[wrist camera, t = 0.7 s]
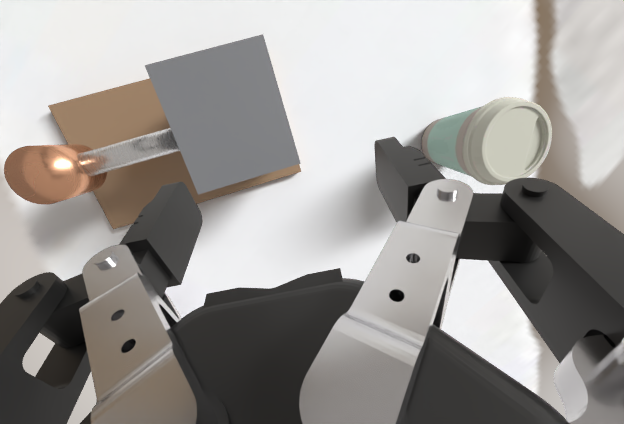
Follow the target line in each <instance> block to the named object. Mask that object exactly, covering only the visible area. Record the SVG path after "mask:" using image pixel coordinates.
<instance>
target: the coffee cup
mask: <svg viewBox="0 0 624 424" xmlns="http://www.w3.org/2000/svg"><path fill="white" fill-rule="evenodd" d="M551 139H552V128H551V123H550V119H549V117H548V115H547V113H546V112H545V111H544V110H543V108H541V107H540V106H539V105H537V104H535V103H533V102H529V101H526V100H524V99H521V98H513V97H504V98H499V99H496V100H493V101H491V102H489V103H488V104H486V105H485V106H482V107H479V108H475V109H472V110H469V111H465V112H462V113H459V114H455V115H452V116H448V117H445V118H442V119H439V120H436V121H434V122H432V123H431V124H430V125H429V126H428V127H427V128H426V130H425V132H424V134H423V136H422V141H421V147H422V151H423V154H424V155H425V157H426V158H427V159H428V160H429V161H431V162H434V163H436V164H439V165H442V166H444V167H447V168H450V169H453V170H455V171H458V172H461V173H464V174H467V175H469V176H472V177H473V178H475V179H476V180H477V181H479V182H481V183H484V184H488V185H503V184H507V183H508V182H509V181H511V180H514V179H518V178H526V177H528V176H529V175H531V174H532V173H533V172H535V171H536V170H537V169H538V167H539V166H540V165H541V164H542V162H543V161H544V159H545V157H546V156H547V153H548V151H549V148H550V144H551Z"/></svg>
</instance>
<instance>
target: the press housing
mask: <svg viewBox="0 0 624 424" xmlns="http://www.w3.org/2000/svg"><path fill="white" fill-rule="evenodd" d="M145 67H146V70H147V72H148V74H149V77H150V79H146V80H143V81H139V82H135V83H131V84H128V85H124V86H120V87H116V88H113V89H109V90H105V91H101V92H98V93H94V94H90V95H86V96H83V97H79V98H75V99H72V100H68V101H64V102H60V103H57V104H53V105H49V106H48V107H49V109H50V110H51V112H52V114H53V116H54V118H55V120H56V122H57V124H58V126H59V127H60V129H61V131H62V133H63V135H64V137H65V139H66V141H67V143H68V144H79V145H84V146H87V147H89V148H91V149H93V150H94V149H97V148H101V147H104V146H108V145H111V144H115V143H118V142H122V141H125V140H129V139H132V138H136V137H139V136H143V135H147V134H150V133H154V132H157V131H161V130H164V129H168V128H171V130H172V133H173V135H174V137H175V140H176V142H177V145H178V147H179V149H180V151H178V152H174V153H171V154H167V155H164V156H160V157H157V158H153V159H150V160H147V161H143V162H140V163H136V164H133V165H129V166H126V167H122V168H119V169H116V170H112V171H109V172H107V177H106V180H105V182H104V183H103V185H102V186H101V187H100V188H98V189H96V190H94V191H93V192H94V194H95V196H96V198H97V200H98V202H99V203H100V205H101V207H102V209H103V211H104V213H105V215H106V217H107V219H108V220H109V222H110V224H111V226H112V228H113V229H116V228H119V227H122V226H125V225H129V224H132V223H134V221H135V220H136V218H138V215H139V214H140V212H141V211H142V209H143V208H144V207H145V206H146V205H147V204H148V203H150V202H151V201H152V200H153V199H154V197H155V196H156V194H157V193H158V191H159V190H160V188H161V187H162V186H163V185H166V184H171V183H176V182H183V183H184V184H185V185H186V186H187V188H188V190H189V192H190V193H191V195H192V197H193V199H194V201H195V203H196V204H197V203H200V202H204V201H207V200H210V199H213V198H217V197H220V196H223V195H226V194H230V193H233V192H236V191H239V190H243V189H246V188H249V187H252V186H256V185H259V184H262V183H265V182H269V181H272V180H275V179H278V178H282V177H285V176H288V175H291V174H295V173H298V172H301V169H300V166H299V164H300V160H299V157H298V153H297V150H296V147H295V143H294V140H293V136H292V133H291V129H290V126H289V122H288V119H287V116H286V112H285V109H284V105H283V102H282V98H281V95H280V92H279V88H278V85H277V81H276V78H275V74H274V71H273V67H272V64H271V61H270V57H269V54H268V50H267V47H266V43H265V40H264V37H263V35H259V36H255V37H251V38H247V39H244V40H240V41H236V42H232V43H228V44H225V45H221V46H217V47H213V48H209V49H206V50H202V51H198V52H194V53H190V54H187V55H183V56H179V57H175V58H171V59H168V60H164V61H160V62H156V63H153V64H149V65H145Z"/></svg>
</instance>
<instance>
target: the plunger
mask: <svg viewBox="0 0 624 424" xmlns="http://www.w3.org/2000/svg"><path fill="white" fill-rule="evenodd" d="M178 151H180V149H179V147H178V145H177V142H176V140H175V137H174V135H173V133H172V130H171V128H168V129H164V130H161V131H157V132H154V133H150V134H147V135H143V136H139V137H136V138H132V139H129V140H125V141H122V142H118V143H115V144H111V145H108V146H104V147H101V148H97V149H94V150H93V149H91V148H89V147H87V146H84V145H79V144H68V145H42V146H25V147H21V148H18V149H17V150H15V151H13V152H12V153H11V154H10V155H9V156H8V158H7V160H6V162H5V165H4V174H5V178H6V180H7V182H8V184H9V186H10V187H11V189H12V190H13V191H14V192H15V193H16V194H17V195H19V196H20V197H22V198H23V199H25V200H27V201H30V202H33V203H37V204H53V203H56V202H59V201H63V200H66V199H69V198H72V197H75V196H79V195H82V194H85V193H88V192H91V191H94V190H96V189H98V188H100V187H101V186H102V185H103V183H104V182H105V180H106V177H107V172H109V171H112V170H116V169H119V168H122V167H126V166H129V165H133V164H136V163H140V162H143V161H147V160H150V159H153V158H157V157H160V156H164V155H167V154H171V153H174V152H178Z"/></svg>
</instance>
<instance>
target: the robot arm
mask: <svg viewBox="0 0 624 424" xmlns="http://www.w3.org/2000/svg"><path fill="white" fill-rule="evenodd" d="M375 163H376V178H377V183H378V187H379V189H380V191H381V193H382V195H383V197H384V199H385V201H386V203H387V205H388V207H389V209H390V210H391V212H392V214H393V216H394V218H395V220H396V222H397V224H396V225H395V227H394V229H393V231H392V233H391V235H390V236H389V238H388V240H387V242H386V244H385V245H384V247H383V249H382V251H381V253H380V255H379V256H378V258H377V260H376V262H375V264H374V266H373V267H372V269H371V271H370V273H369V275H368V277H367V278H366V280H365V282H364V281H360V280H355V279H346V278H342V275H341V271H340V268H339V269H333V270H328V271H323V272H318V273H313V274H307V275H305V276H302V277H300V278H297V279H295V280H293V281H290V282H288V283H285V284H283V285H281V286H278V287H276V288H272V289H263V288H235V289H230V290H225V291H219V292H214V293H209V294H207V295H206V299H205V303H204V306H202V307H200V308H198V309H196V310H194V311H192V312H191V313H189V314H187V315H186V316H185V317H183V318H181V316H180V315H179V313H178V311H177V310H176V308H175V306H174V305H173V303H172V301H171V299H170V298H169V296H168V295H167V294H166V293H165V290H166V288H167V287H171V286H176V285H181V283H182V280H183V277H184V274H185V271H186V269H187V266H188V263H189V260H190V257H191V254H192V251H193V249H194V246H195V243H196V240H197V237H198V234H199V232H200V229H201V226H202V215H201V212H200V210H199V208H198V206H197V205H196V203H195V201H194V199H193V197H192V195H191V193H190V192H189V190H188V188H187V186H186V185H185V184H184V183H183V182H176V183H171V184H166V185H163V186H162V187H161V188H160V190H159V191H158V193H157V194H156V196H155V197H154V199H153V200H152V201H151V202H150V203H148V204H147V205H146V206H145V207H144V208H143V209H142V211H141V212H140V214H139V215H138V218H136V220H135V221H134V225H132V226H131V227H130V229H129V231H128V232H127V234H126V235H125V237H124V238H123V240H122V241H121V243H120V244H119V245H115V246H111V247H109V248H106V249H104V250H102V251H101V252H99V253H97V254H96V255H95V256H93V257H92V258H91V259H90V260H89V261H88V262H87V263H86V265H85V266H84V268H83V271H82V274H80V275H78V276H75V277H73V278H70V279H68V280H66V281H62V280H61V279H60V278H59V277H57V276H56V275H55V274H54V273H50V272H49V273H43V274H39V275H37V276H34V277H32V278H30V279H28V280H27V281H25V282H23V283H22V284H21V285H19V286H18V287H16V288H15V289H14V290H13V291H12V292H11V293H10V294H9V295H8V296H7V297H6V298H5V299H4V300H3V301H2V303H1V304H0V424H67V422H68V419H69V417H70V415H71V413H72V411H73V408H74V406H75V404H76V402H77V399H78V398H79V396H80V393H81V391H82V389H83V387H84V385H85V383H86V380H87V378H88V376H89V374H90V372H92V377H93V382H94V387H95V392H96V397H97V403H96V405H95V406H94V408H93V409H92V412H90V413H89V414H88V416H87V417H86V418H85V419H84V420H83V421H82V422H81V423H80V424H624V234H623V233H621V232H620V231H619V230H617V229H616V228H614V227H613V226H612V225H610V224H609V223H607V222H606V221H605V220H604V219H602V218H601V217H600V216H598V215H597V214H596V213H594V212H593V211H592V210H590V209H589V208H588V207H586V206H585V205H584V204H582V203H581V202H580V201H578V200H577V199H576V198H574V197H573V196H572V195H570V194H569V193H567V192H566V191H565V190H563V189H562V188H561V187H559V186H558V185H556V184H554V183H552V182H549V181H546V180H542V179H537V178H518V179H514V180H511V181H509V182H508V183H507V184H506V185H505V187H504V191H503V194H479V193H473V190H472V189H471V187H470V186H468V185H467V184H465V183H463V182H461V181H457V180H452V179H446V178H445V177H444V176H443V175H442V174H441V173H440V172H439V171H438V170H437V169H436V168H435V166H434V165H433V164H431V162H430V161H429V160H428V159H427V158H426V157H425V156H424V155H423V153H422V152H421V151H420V150H417V149H415V148H413V147H411V146H407V147H403V146H402V145H401V144H400V143H399V142H398V140H397V139H396V138H395V137H391V138H386V139H382V140H377V141H375ZM545 254H546V255H547V256H546V255H545ZM460 259H473V260H488V261H489V263H490V264H491V265H492V267H493V268H494V270H495V271H496V273H497V274H498V275H499V277H500V278H501V280H502V281H503V283H504V284H505V285H506V287H507V288H508V290H509V291H510V293H511V294H512V295H513V297H514V298H515V300H516V301H517V303H518V304H519V306H520V307H521V308H522V310H523V311H524V313H525V314H526V316H527V317H528V318H529V320H530V321H531V323H532V324H533V326H534V327H535V328H536V330H537V331H538V333H539V334H540V335H541V337H542V338H543V340H544V341H545V343H546V344H547V345H548V347H549V348H550V350H551V351H552V353H553V354H554V356H555V357H556V358H557V360H558V361H559V363H560V364H559V366H558V367H557V368H556V371H555V373H554V383H555V387H556V390H557V392H558V394H559V396H560V398H561V400H562V402H563V405H564V408H565V412H566V419H565V418H564V417H563V416H562V415H561V414H560V413H559V412H558V411H557V410H555V409H554V408H553V407H552V406H551V405H550V404H548V403H547V402H546V401H544V400H543V399H542V398H540V397H539V396H538V395H536V394H535V393H533V392H532V391H530V390H529V389H527V388H526V387H525V386H523V385H522V384H520V383H519V382H517V381H516V380H514V379H513V378H511V377H510V376H508V375H507V374H505V373H504V372H503V371H501V370H500V369H498V368H497V367H495V366H494V365H492V364H491V363H489V362H488V361H486V360H485V359H483V358H482V357H481V356H479V355H478V354H476V353H475V352H473V351H472V350H470V349H469V348H467V347H466V346H464V345H463V344H461V343H460V342H459V341H457V340H456V339H454V338H453V337H451V336H450V335H448V334H447V333H445V332H444V331H442V330H441V327H442V323H443V320H444V315H445V311H446V307H447V303H448V299H449V296H450V292H451V289H452V286H453V282H454V279H455V275H456V272H457V268H458V265H459V261H460ZM39 332H40V333H41V334H42V335H44V336H45V337H47V338H48V339H50V340H52V341H53V342H54V343H55V345H54V347H53V348H52V350H51V351H50V353H49V355H48V356H47V358H46V360H45V361H44V363H43V365H42V367H41V368H40V370H39V371H38V373H37V375H36V377H34V376H32V375H30V374H28V373H27V372H25V370H24V369H23V366H22V361H23V357H24V355H25V353H26V351H27V350H28V349H29V347H30V346H31V344H32V343H33V341H34V340H35V338H36V337H37V335H38V334H39Z"/></svg>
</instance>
